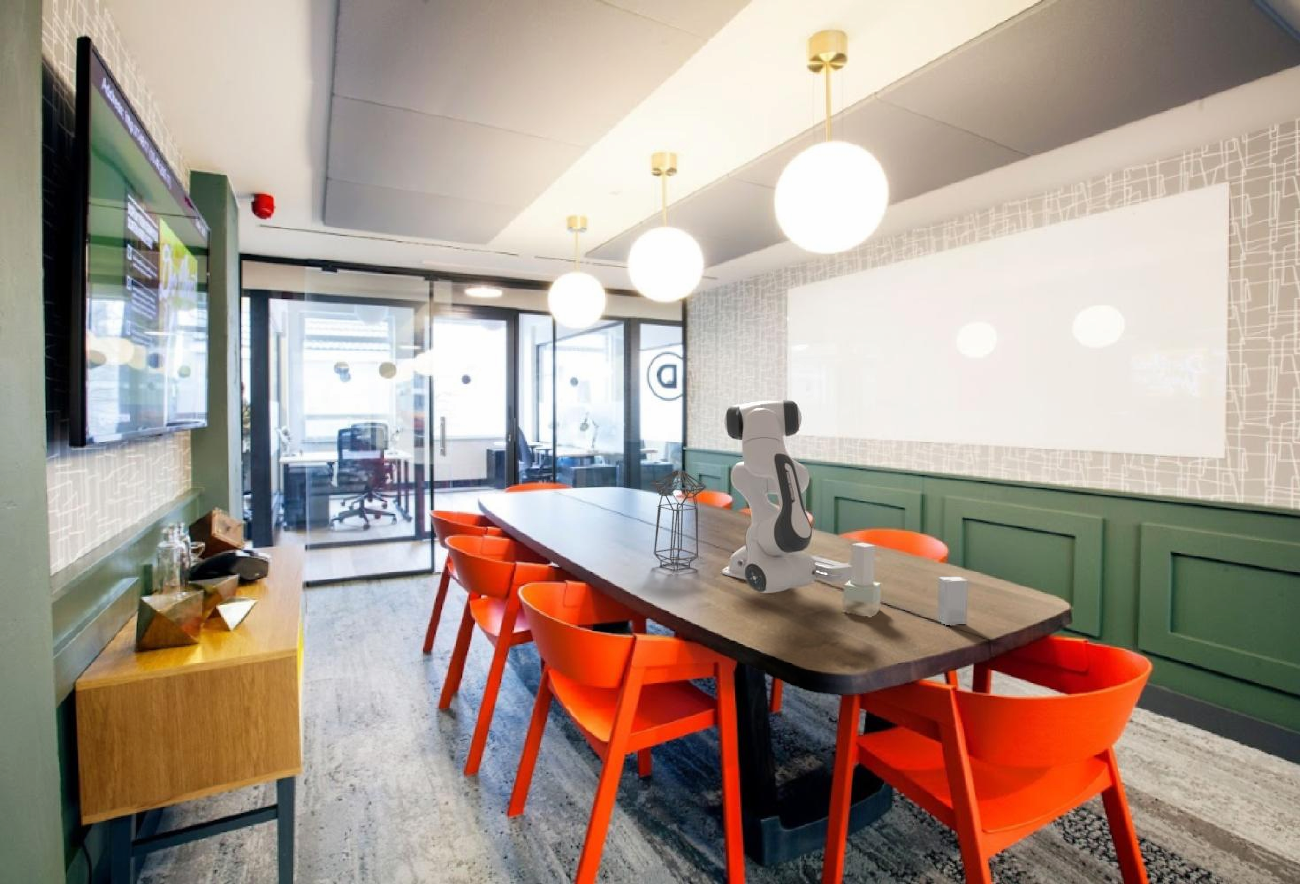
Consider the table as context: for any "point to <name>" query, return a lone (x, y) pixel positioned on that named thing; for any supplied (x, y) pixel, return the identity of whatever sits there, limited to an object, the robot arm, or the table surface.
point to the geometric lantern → (658, 485)
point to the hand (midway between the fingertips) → (834, 562)
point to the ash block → (860, 607)
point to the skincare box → (952, 600)
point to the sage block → (862, 592)
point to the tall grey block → (863, 564)
